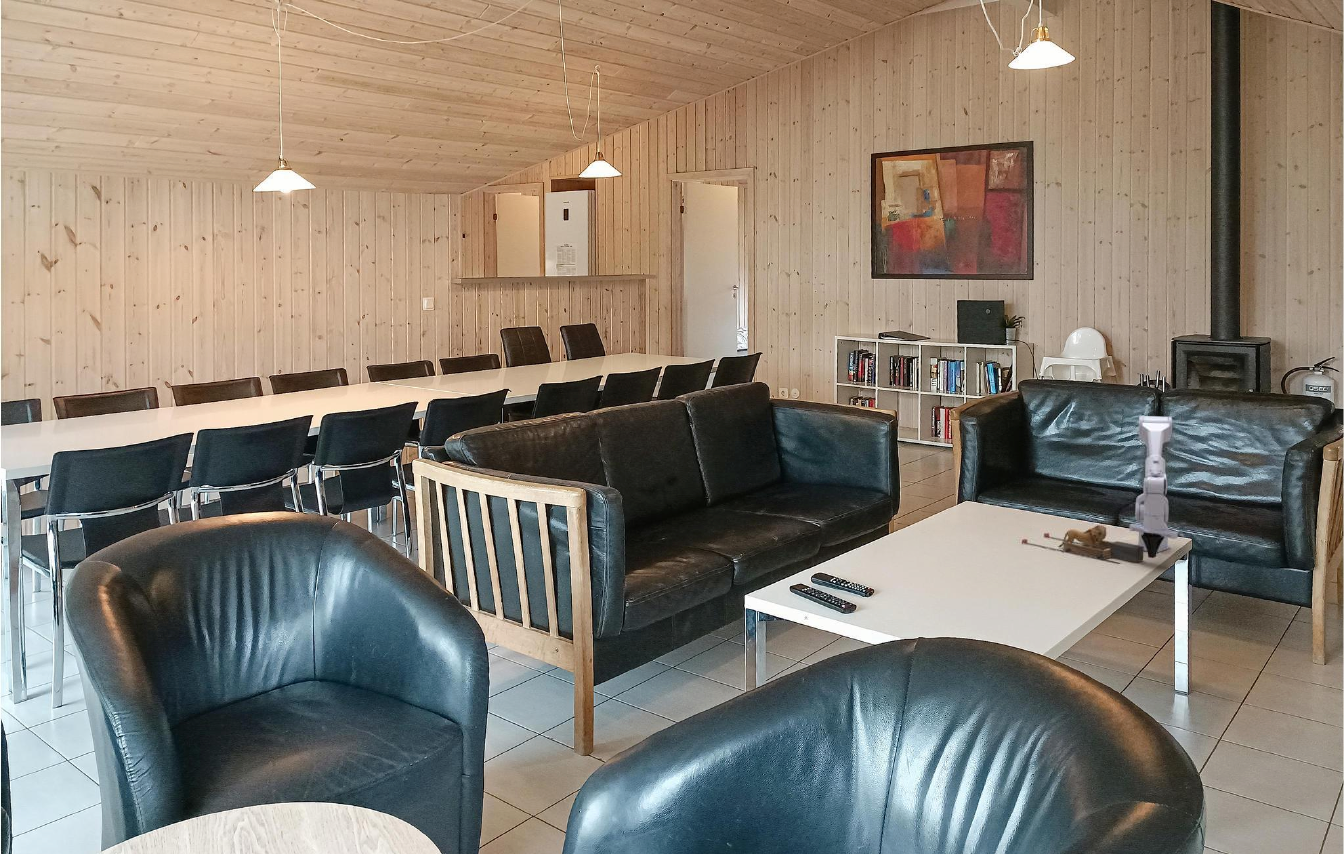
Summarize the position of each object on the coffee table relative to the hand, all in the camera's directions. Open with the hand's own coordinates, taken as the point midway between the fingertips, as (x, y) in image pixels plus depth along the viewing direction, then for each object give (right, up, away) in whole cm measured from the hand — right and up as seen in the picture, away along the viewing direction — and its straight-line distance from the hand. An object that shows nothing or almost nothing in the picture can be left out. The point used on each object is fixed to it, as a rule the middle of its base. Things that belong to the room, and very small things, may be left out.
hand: (1152, 557), depth 329 cm
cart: (-9, 0, +13) cm, 16 cm away
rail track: (-15, 0, +20) cm, 25 cm away
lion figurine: (-14, 0, +19) cm, 24 cm away
